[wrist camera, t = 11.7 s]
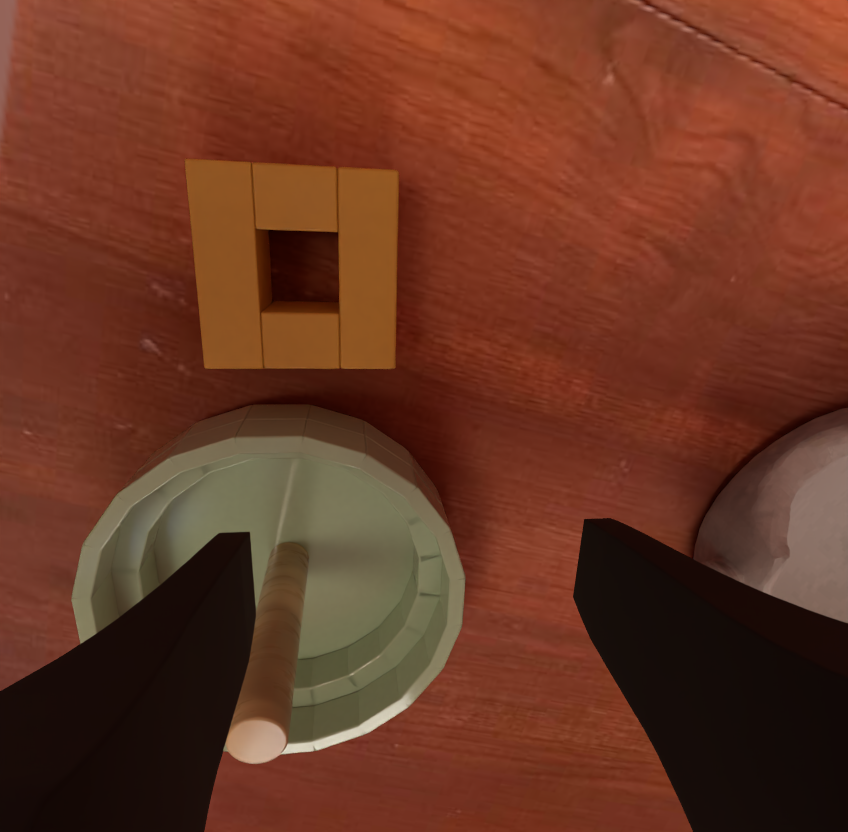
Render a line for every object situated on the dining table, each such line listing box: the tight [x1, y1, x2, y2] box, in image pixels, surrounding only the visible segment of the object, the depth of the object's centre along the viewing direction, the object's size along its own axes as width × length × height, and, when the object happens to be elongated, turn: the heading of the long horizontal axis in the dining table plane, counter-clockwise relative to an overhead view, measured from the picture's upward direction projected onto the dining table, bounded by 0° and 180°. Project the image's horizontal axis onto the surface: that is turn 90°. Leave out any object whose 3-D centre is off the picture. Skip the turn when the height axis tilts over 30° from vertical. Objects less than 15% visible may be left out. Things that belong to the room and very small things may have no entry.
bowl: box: [72, 404, 466, 755], centre depth 21 cm, size 13×13×4 cm
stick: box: [226, 542, 309, 764], centre depth 18 cm, size 2×2×8 cm
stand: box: [185, 158, 399, 369], centre depth 18 cm, size 6×6×3 cm
